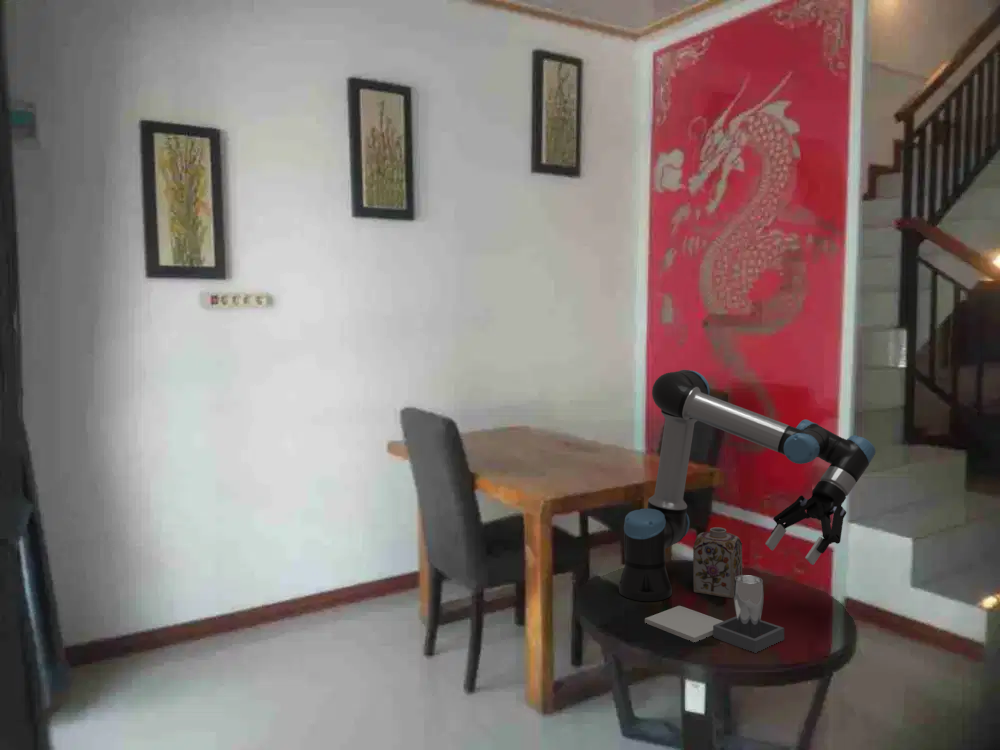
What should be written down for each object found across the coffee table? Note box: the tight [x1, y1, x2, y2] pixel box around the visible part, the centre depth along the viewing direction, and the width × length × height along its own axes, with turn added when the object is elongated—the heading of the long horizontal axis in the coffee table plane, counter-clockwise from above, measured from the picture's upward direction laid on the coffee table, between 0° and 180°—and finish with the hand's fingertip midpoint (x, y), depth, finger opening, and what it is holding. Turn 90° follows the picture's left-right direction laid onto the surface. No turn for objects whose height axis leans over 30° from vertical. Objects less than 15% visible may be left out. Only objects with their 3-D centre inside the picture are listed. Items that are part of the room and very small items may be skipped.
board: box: [644, 605, 724, 643], centre depth 193 cm, size 16×14×1 cm
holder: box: [712, 615, 785, 654], centre depth 184 cm, size 12×12×3 cm
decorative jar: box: [692, 527, 743, 599], centre depth 218 cm, size 12×12×18 cm
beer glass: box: [733, 574, 764, 639], centre depth 183 cm, size 7×7×15 cm
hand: (788, 554), depth 187 cm, fingers open, 13 cm apart
